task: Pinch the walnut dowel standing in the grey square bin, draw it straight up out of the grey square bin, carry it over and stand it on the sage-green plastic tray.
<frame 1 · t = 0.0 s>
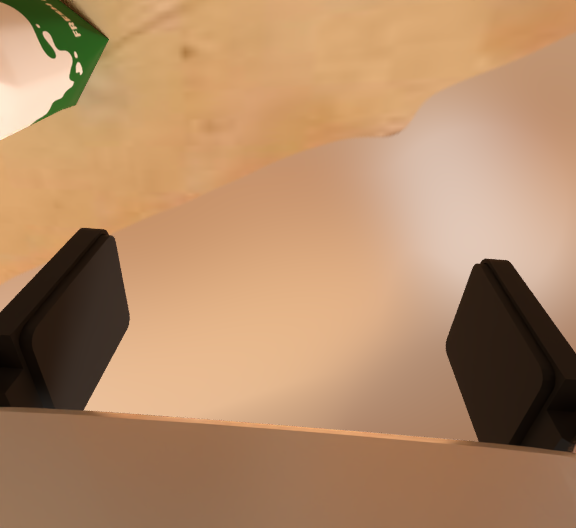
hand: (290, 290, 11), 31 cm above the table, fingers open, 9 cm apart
milk carton: (56, 46, 37), on the table
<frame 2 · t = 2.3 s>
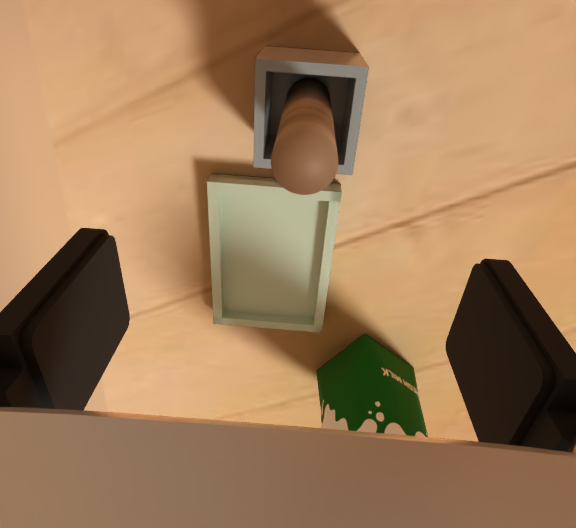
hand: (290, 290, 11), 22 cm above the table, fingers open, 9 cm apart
tray: (272, 255, 37), on the table
pin: (308, 101, 29), point 1 cm above the table, touching grey square bin
milk carton: (363, 367, 44), on the table
grey square bin: (308, 99, 29), on the table
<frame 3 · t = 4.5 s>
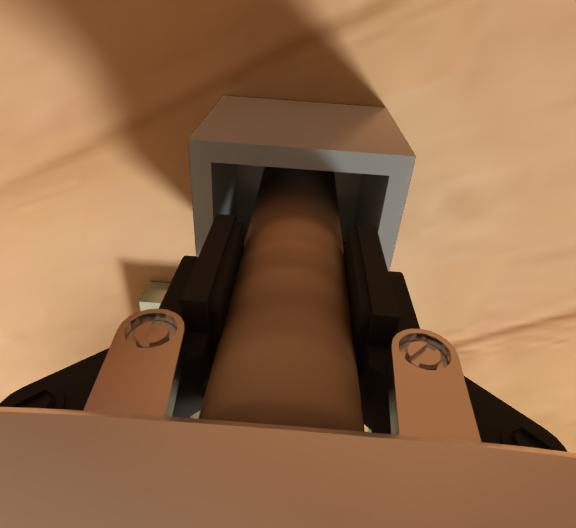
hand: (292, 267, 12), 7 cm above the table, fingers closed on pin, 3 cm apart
tray: (248, 384, 25), on the table
pin: (298, 184, 17), point 1 cm above the table, touching grey square bin, gripper
grey square bin: (298, 178, 18), on the table
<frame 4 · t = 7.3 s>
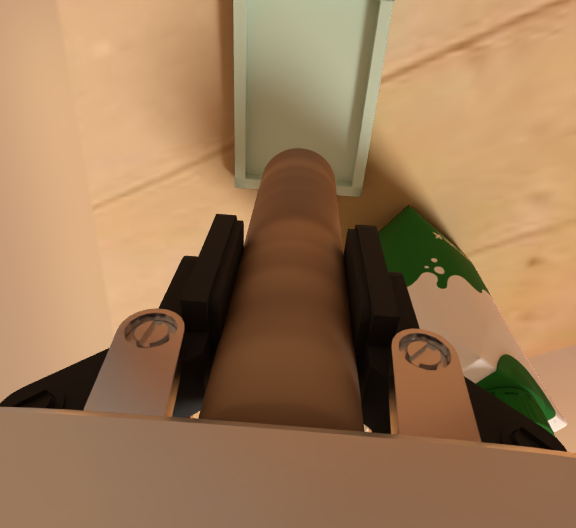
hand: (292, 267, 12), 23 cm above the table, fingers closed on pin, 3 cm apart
tray: (305, 95, 31), on the table
pin: (298, 184, 17), point 17 cm above the table, touching gripper
milk carton: (403, 253, 38), on the table
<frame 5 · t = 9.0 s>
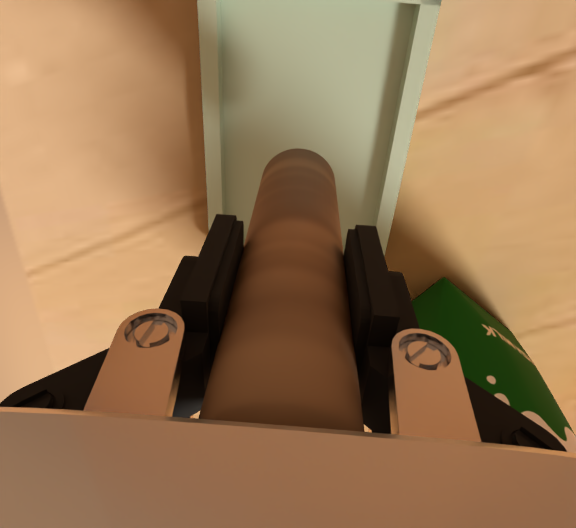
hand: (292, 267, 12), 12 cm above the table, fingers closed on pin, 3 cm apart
tray: (306, 136, 22), on the table
pin: (298, 184, 17), point 6 cm above the table, touching gripper
milk carton: (434, 332, 29), on the table
when the fingers open (7 cm above the table, at t = 10.2 s): pin stays where it is, resting on tray.
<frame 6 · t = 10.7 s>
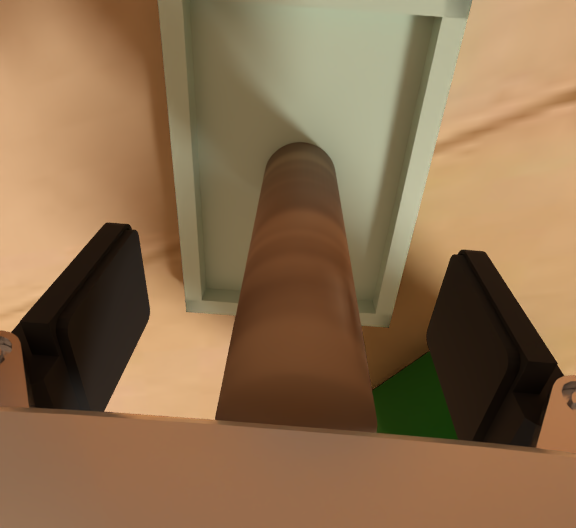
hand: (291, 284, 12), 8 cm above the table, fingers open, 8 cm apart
tray: (298, 172, 18), on the table
pin: (299, 177, 18), point 1 cm above the table, touching tray
milk carton: (447, 388, 26), on the table
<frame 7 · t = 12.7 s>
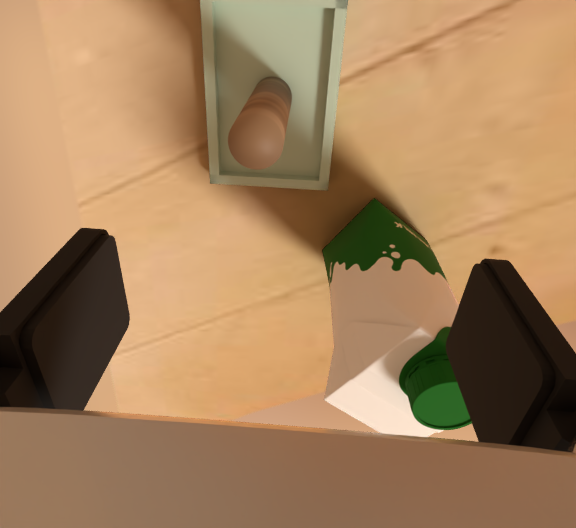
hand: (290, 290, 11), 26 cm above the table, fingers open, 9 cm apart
tray: (272, 96, 33), on the table
pin: (272, 97, 33), point 1 cm above the table, touching tray
milk carton: (372, 244, 41), on the table
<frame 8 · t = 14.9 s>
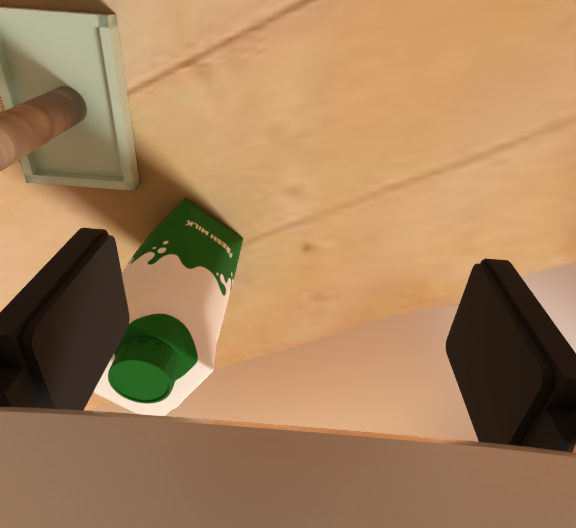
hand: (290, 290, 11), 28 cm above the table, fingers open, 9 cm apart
tray: (71, 103, 37), on the table
pin: (68, 105, 36), point 1 cm above the table, touching tray
milk carton: (196, 241, 44), on the table
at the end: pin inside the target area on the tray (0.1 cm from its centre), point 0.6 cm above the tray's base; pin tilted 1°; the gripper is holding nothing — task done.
